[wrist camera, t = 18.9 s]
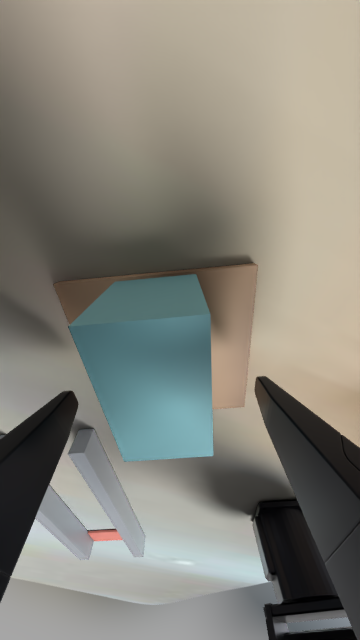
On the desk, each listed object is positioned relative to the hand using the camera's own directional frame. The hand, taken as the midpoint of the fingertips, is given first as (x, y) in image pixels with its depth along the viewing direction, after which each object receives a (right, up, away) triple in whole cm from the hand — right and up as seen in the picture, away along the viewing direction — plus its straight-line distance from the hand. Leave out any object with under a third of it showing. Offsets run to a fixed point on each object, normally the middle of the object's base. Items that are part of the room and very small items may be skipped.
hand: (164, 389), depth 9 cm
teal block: (0, +2, +2) cm, 3 cm away
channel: (-9, -16, +12) cm, 22 cm away
